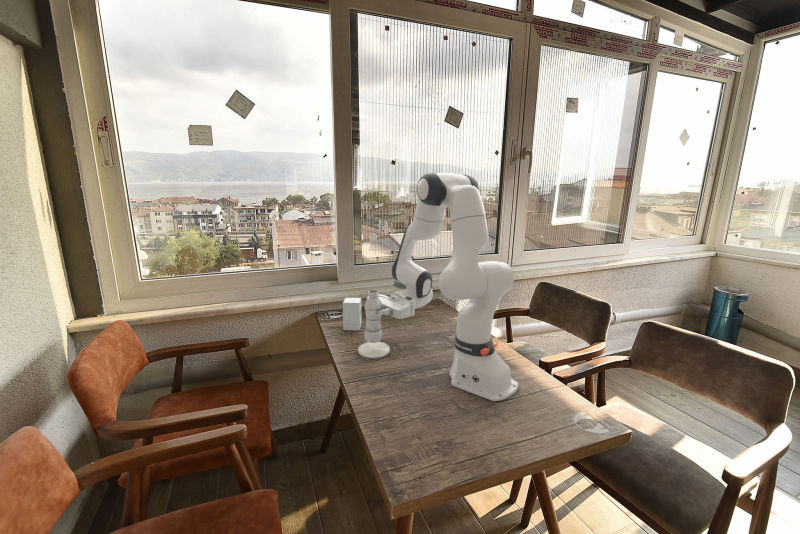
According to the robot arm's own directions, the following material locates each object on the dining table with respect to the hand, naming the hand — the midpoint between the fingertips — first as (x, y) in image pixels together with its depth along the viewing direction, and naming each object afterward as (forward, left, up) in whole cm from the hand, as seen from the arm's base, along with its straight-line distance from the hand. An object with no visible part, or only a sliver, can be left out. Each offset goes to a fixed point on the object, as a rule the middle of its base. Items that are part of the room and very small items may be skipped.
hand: (371, 310), depth 138 cm
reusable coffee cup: (+26, -42, -17) cm, 52 cm away
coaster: (0, -1, -16) cm, 17 cm away
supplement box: (+24, -8, -17) cm, 30 cm away
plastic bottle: (0, -1, -13) cm, 13 cm away
